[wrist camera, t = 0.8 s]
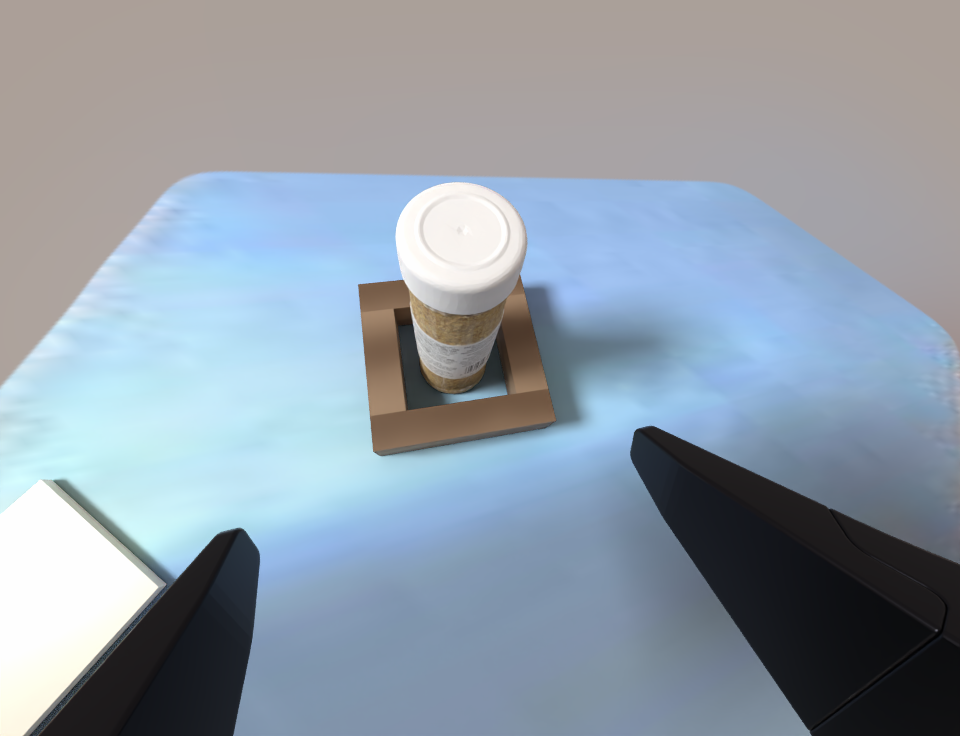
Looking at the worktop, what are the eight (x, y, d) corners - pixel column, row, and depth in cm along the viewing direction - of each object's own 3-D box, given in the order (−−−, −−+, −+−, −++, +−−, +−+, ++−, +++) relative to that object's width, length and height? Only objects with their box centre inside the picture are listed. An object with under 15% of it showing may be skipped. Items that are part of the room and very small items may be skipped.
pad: (166, 584, 19) (158, 587, 19) (-5, 772, 16) (-20, 782, 16) (51, 479, 20) (40, 479, 20) (-128, 639, 17) (-147, 644, 17)
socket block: (545, 428, 24) (556, 420, 22) (380, 456, 22) (373, 451, 20) (511, 287, 27) (518, 268, 25) (365, 303, 26) (358, 284, 23)
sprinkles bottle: (464, 322, 26) (486, 159, 13) (498, 376, 25) (556, 253, 12) (406, 351, 25) (369, 203, 12) (439, 408, 24) (436, 311, 11)
